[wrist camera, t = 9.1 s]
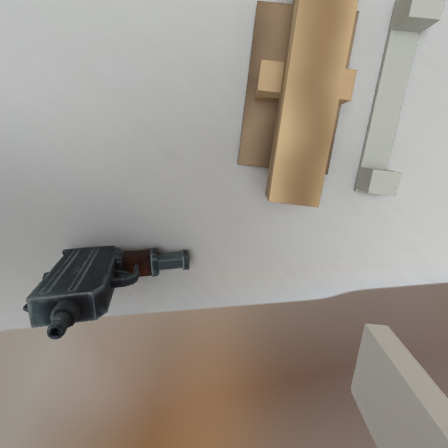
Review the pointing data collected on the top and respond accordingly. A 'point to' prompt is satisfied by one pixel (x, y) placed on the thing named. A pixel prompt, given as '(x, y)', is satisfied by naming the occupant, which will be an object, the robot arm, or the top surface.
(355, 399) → the robot arm
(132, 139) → the top surface
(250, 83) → the fulcrum
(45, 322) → the gun
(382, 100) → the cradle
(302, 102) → the bar
